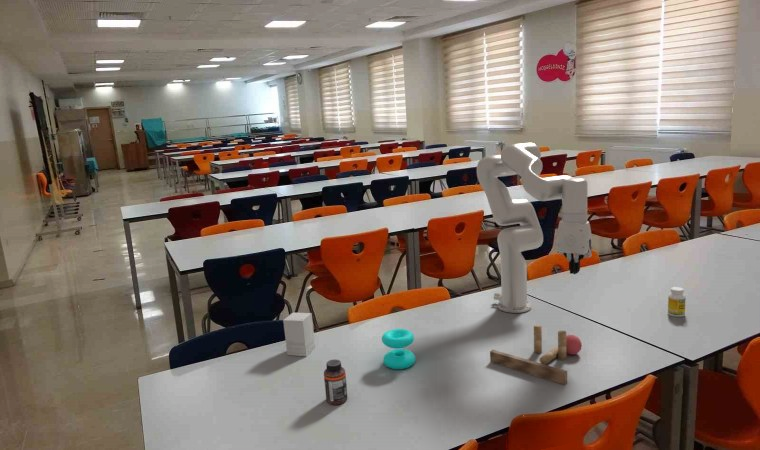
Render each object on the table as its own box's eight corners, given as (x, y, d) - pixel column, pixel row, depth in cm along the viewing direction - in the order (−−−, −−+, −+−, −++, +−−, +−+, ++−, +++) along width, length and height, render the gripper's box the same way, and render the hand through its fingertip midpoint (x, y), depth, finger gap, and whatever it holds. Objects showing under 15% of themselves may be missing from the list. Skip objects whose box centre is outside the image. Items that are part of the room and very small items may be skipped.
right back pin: (556, 358, 167) (556, 332, 165) (560, 355, 168) (560, 329, 167) (564, 360, 165) (564, 334, 163) (567, 357, 167) (567, 331, 165)
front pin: (553, 346, 170) (539, 356, 164) (561, 348, 168) (546, 358, 163) (553, 353, 170) (539, 363, 165) (561, 355, 169) (546, 365, 163)
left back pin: (532, 352, 172) (532, 326, 171) (536, 349, 174) (536, 324, 172) (539, 353, 171) (539, 328, 169) (543, 351, 172) (543, 325, 171)
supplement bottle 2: (672, 310, 198) (673, 285, 196) (687, 314, 193) (689, 288, 191) (664, 314, 195) (665, 288, 193) (679, 318, 190) (680, 292, 188)
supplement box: (316, 347, 187) (312, 312, 184) (306, 357, 180) (302, 321, 177) (296, 346, 189) (293, 311, 187) (286, 355, 182) (282, 319, 180)
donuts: (403, 324, 175) (419, 334, 167) (405, 353, 177) (421, 365, 169) (375, 332, 171) (391, 343, 162) (378, 361, 173) (393, 374, 164)
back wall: (490, 361, 168) (490, 351, 167) (493, 360, 169) (492, 349, 168) (564, 384, 151) (564, 373, 150) (567, 382, 152) (567, 371, 151)
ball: (568, 341, 165) (575, 328, 168) (554, 346, 169) (561, 333, 173) (581, 356, 165) (588, 343, 168) (567, 360, 169) (574, 347, 173)
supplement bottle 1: (326, 395, 154) (322, 358, 152) (347, 393, 155) (344, 356, 152) (326, 406, 148) (322, 368, 146) (348, 404, 149) (344, 365, 146)
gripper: (547, 217, 176) (547, 272, 180) (592, 221, 166) (592, 279, 169) (557, 213, 181) (558, 266, 185) (603, 217, 171) (602, 273, 174)
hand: (574, 272), depth 177 cm, fingers closed
